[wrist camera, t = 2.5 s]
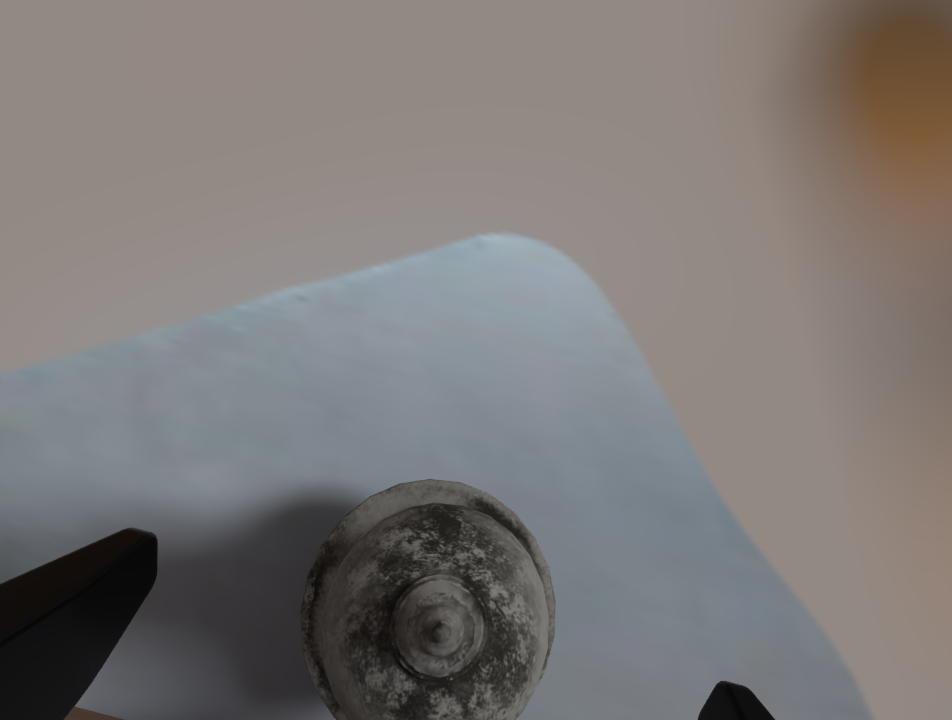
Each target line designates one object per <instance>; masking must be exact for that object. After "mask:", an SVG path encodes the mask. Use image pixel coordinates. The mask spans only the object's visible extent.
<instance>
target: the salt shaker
mask: <svg viewBox="0 0 952 720" xmlns="http://www.w3.org/2000/svg"><path fill="white" fill-rule="evenodd" d="M554 628H555V597H554V592H553V587H552V582H551V577H550V572H549V567H548V565H547V563H546V561H545V559H544V557H543V555H542V552H541V550H540V548H539V546H538V544H537V542H536V540H535V538H534V536H533V535H532V534H531V532H530V531H529V530H528V529H527V528H526V526H525V525H524V524H523V523H522V521H521V520H520V519H519V518H518V516H517V515H516V514H515V513H514V512H513V511H512V510H510V509H509V508H508V507H506V506H505V505H504V504H502V503H501V502H500V501H498V500H497V499H495V498H494V497H493V496H491V495H490V494H488V493H486V492H483V491H481V490H478V489H476V488H473V487H471V486H468V485H465V484H463V483H460V482H452V481H442V480H433V479H427V480H421V481H415V482H408V483H402V484H398V485H396V486H393V487H391V488H389V489H386V490H384V491H382V492H379V493H377V494H375V495H373V496H370V497H369V498H368V499H366V500H365V501H364V502H362V503H361V504H360V505H359V506H357V507H356V508H355V509H353V510H352V511H351V512H350V513H348V514H347V515H346V516H344V517H343V519H342V520H341V521H340V523H339V524H338V525H337V526H336V528H335V529H334V530H333V531H332V533H331V534H330V535H329V536H328V538H327V539H326V540H325V541H324V543H323V544H322V546H321V548H320V551H319V553H318V555H317V557H316V559H315V562H314V564H313V566H312V568H311V570H310V572H309V575H308V577H307V582H306V587H305V593H304V598H303V603H302V608H301V631H302V650H303V653H304V656H305V660H306V663H307V666H308V669H309V672H310V676H311V679H312V682H313V685H314V687H315V689H316V690H317V692H318V693H319V695H320V696H321V698H322V699H323V701H324V703H325V704H326V706H327V707H328V709H329V710H330V712H331V713H332V715H333V716H334V718H336V719H337V720H516V719H517V718H518V717H519V715H520V714H521V713H522V712H523V710H524V708H525V706H526V705H527V703H528V701H529V699H530V697H531V696H532V694H533V692H534V690H535V688H536V687H537V685H538V683H539V681H540V680H541V678H542V676H543V674H544V672H545V669H546V665H547V661H548V658H549V654H550V651H551V647H552V643H553V640H554Z"/></svg>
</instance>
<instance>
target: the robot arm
mask: <svg viewBox="0 0 952 720" xmlns="http://www.w3.org/2000/svg"><path fill="white" fill-rule="evenodd" d="M157 552H158V541H157V537H156V535H155V534H154V533H152V532H148V531H144V530H140V529H136V528H127V529H124V530H121V531H119V532H117V533H114V534H112V535H110V536H108V537H105V538H103V539H101V540H99V541H96V542H94V543H92V544H89V545H87V546H85V547H83V548H80V549H78V550H76V551H74V552H71V553H69V554H67V555H65V556H62V557H60V558H58V559H56V560H53V561H51V562H49V563H47V564H44V565H42V566H40V567H38V568H35V569H33V570H31V571H29V572H26V573H24V574H22V575H19V576H17V577H15V578H13V579H10V580H8V581H6V582H4V583H1V584H0V720H64V719H65V718H66V716H67V715H68V714H69V712H70V711H71V710H72V708H73V707H74V706H75V705H76V703H77V702H78V701H79V699H80V698H81V697H82V695H83V694H84V693H85V691H86V690H87V688H88V687H89V686H90V684H91V683H92V681H93V680H94V678H95V677H96V675H97V674H98V672H99V671H100V669H101V668H102V666H103V665H104V663H105V662H106V660H107V658H108V657H109V655H110V654H111V652H112V650H113V649H114V647H115V646H116V644H117V643H118V641H119V639H120V638H121V636H122V635H123V633H124V631H125V630H126V628H127V627H128V625H129V624H130V622H131V620H132V619H133V617H134V616H135V614H136V612H137V611H138V609H139V608H140V606H141V604H142V603H143V601H144V600H145V598H146V597H147V595H148V593H149V592H150V590H151V589H152V587H153V585H154V583H155V580H156V576H157ZM698 720H775V719H774V718H773V716H772V715H771V714H770V713H769V712H768V710H767V709H766V708H765V707H764V706H763V704H762V703H761V702H760V701H759V699H758V698H757V697H756V696H755V695H754V693H753V692H752V691H751V690H750V689H748V688H747V687H745V686H742V685H739V684H735V683H731V682H727V681H720V682H719V683H717V684H716V686H715V687H714V689H713V691H712V692H711V694H710V696H709V698H708V699H707V701H706V703H705V705H704V706H703V708H702V710H701V712H700V714H699V717H698Z"/></svg>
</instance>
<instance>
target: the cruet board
mask: <svg viewBox="0 0 952 720" xmlns="http://www.w3.org/2000/svg"><path fill="white" fill-rule="evenodd" d="M64 720H121V719H118V718H114V717H110V716H106V715H102V714H99V713H95V712H91V711H87V710H83V709H80V708H76V707H73V708H72V710H71V711H70V712H69V714H68V715H67V716H66V718H65V719H64Z"/></svg>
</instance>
